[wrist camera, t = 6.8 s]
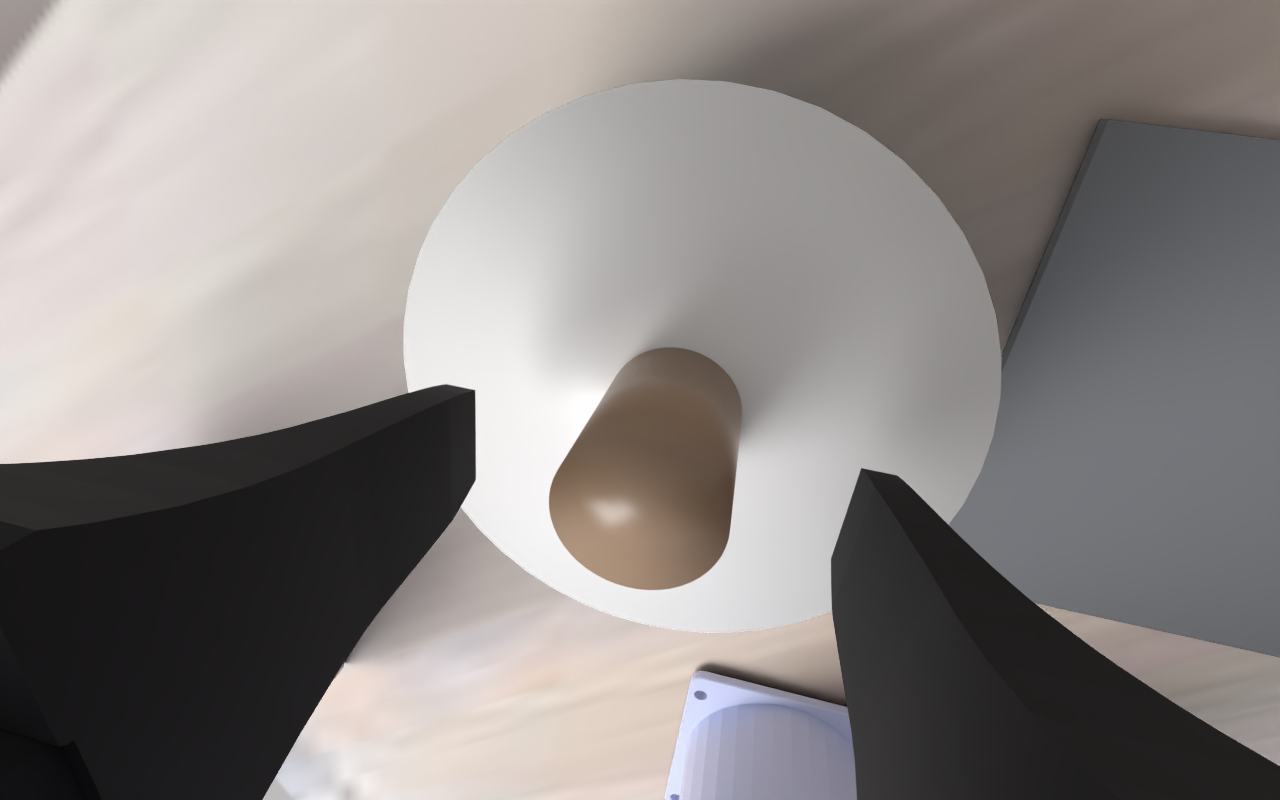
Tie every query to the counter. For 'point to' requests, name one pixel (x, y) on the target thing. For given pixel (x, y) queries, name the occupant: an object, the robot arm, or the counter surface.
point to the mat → (1147, 395)
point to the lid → (701, 347)
